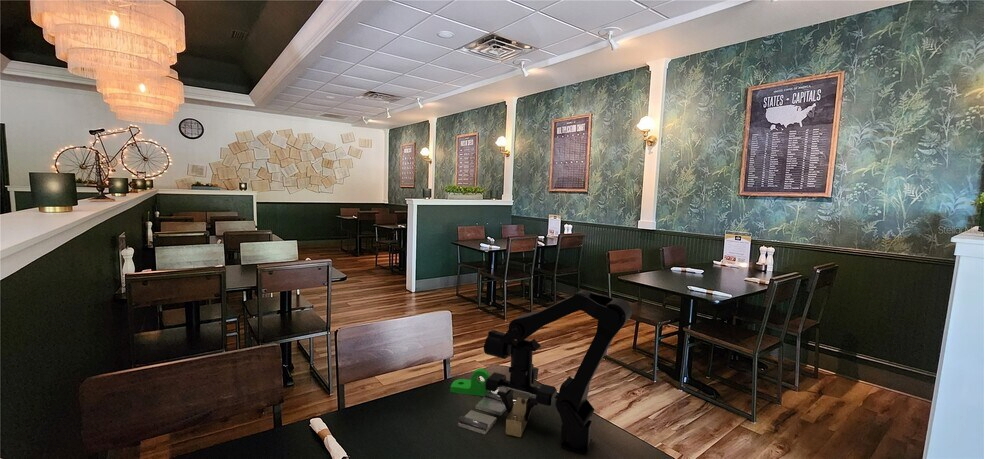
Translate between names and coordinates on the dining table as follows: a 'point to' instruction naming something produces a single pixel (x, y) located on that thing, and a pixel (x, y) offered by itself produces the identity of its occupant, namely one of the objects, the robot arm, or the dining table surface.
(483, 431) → the chain end
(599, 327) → the robot arm
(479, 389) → the mechanical part
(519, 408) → the bar
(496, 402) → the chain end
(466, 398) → the dining table surface
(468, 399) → the dining table surface
